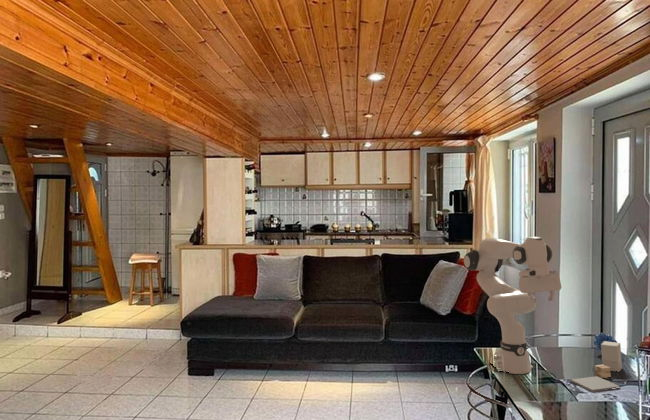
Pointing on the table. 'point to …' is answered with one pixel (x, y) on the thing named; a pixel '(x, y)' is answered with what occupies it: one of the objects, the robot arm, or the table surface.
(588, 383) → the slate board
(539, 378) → the table surface
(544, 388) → the table surface
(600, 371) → the birch block
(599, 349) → the grapes
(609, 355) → the supplement box
